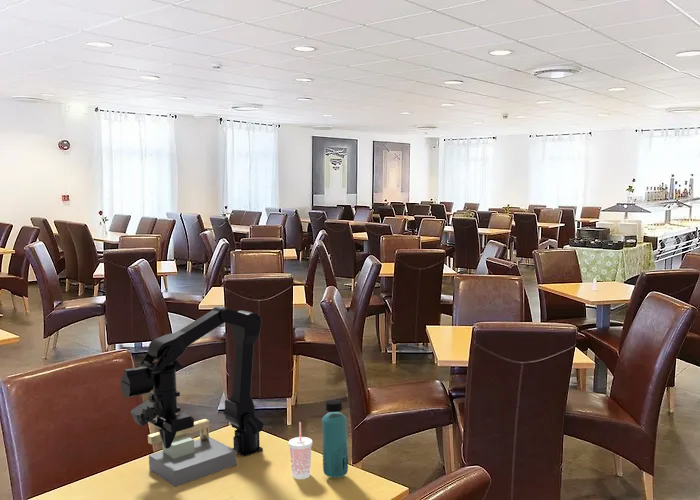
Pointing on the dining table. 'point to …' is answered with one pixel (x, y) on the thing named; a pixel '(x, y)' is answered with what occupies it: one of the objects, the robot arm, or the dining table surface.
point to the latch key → (186, 432)
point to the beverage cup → (300, 456)
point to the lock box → (193, 462)
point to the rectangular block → (180, 447)
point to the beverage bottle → (334, 440)
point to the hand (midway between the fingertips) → (167, 447)
